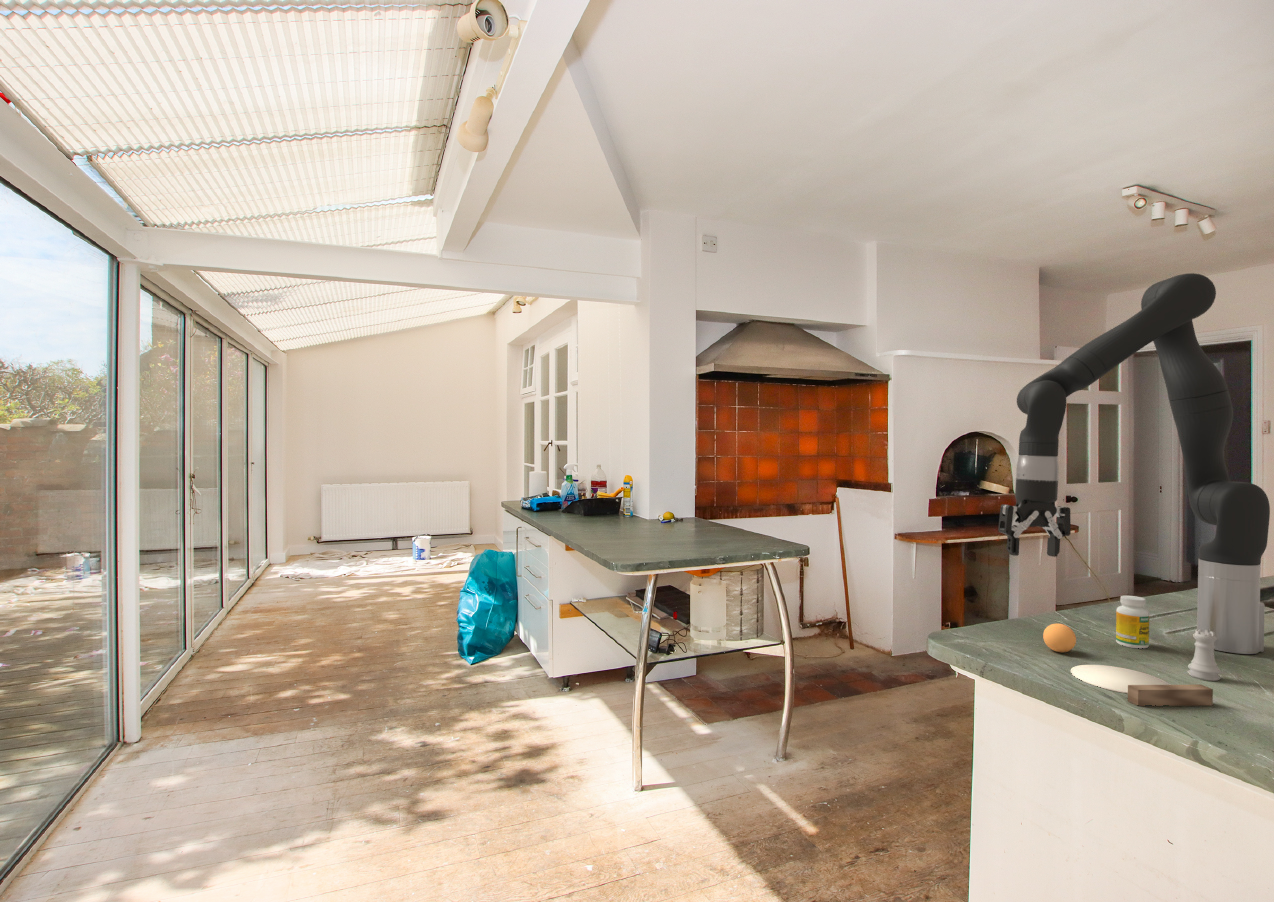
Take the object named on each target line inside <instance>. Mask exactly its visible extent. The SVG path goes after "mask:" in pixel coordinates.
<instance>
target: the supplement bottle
mask: <svg viewBox="0 0 1274 902" xmlns="http://www.w3.org/2000/svg"><path fill="white" fill-rule="evenodd" d="M1146 600H1147V599H1146V598H1145V597H1141V596H1136V595H1120V600H1119V602H1120V604H1121V605H1120V606H1117V607H1116V613H1115V614H1116V615H1115V616H1116V617H1115V622H1116V623H1115V629H1116V630H1115V642H1116V643H1117V644H1118V645H1120V646H1122V645H1123V646H1122V647H1126V648H1132V649H1138V648H1139V650H1142V648H1143V649H1147V648H1148V647H1149V646H1150V612H1149V610H1148V609H1147V608H1145V606H1146V603H1147V602H1146Z"/></svg>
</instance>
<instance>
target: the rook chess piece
mask: <svg viewBox="0 0 1274 902" xmlns="http://www.w3.org/2000/svg"><path fill="white" fill-rule="evenodd" d="M1192 636H1193V638H1194V640H1195V643H1193V645H1194V647H1195V648H1194V649H1195V650H1194V655H1193V658H1192V660H1191V662H1190V663H1189V664H1188V666H1187V667H1188V669H1189V670H1187V673H1188V674H1189V676H1190V677H1192V678H1194V679H1196V680H1201V679H1202V680H1201V681H1206V680H1208V681H1207V682H1218V681H1219V680H1220V679H1222V676H1221V675H1220V674H1221V669H1220V668H1219V667H1218V664H1217V663H1216V660H1215V659H1216V658H1215V649H1214V648H1215V646H1214V642H1215V641H1216V640H1217V638H1216V637H1215V633H1214V632H1212V631H1210V633H1209V631H1208V630H1205V632H1202V630H1200V629H1198V630H1197V629H1195V631H1194V633H1193V634H1192Z"/></svg>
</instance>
